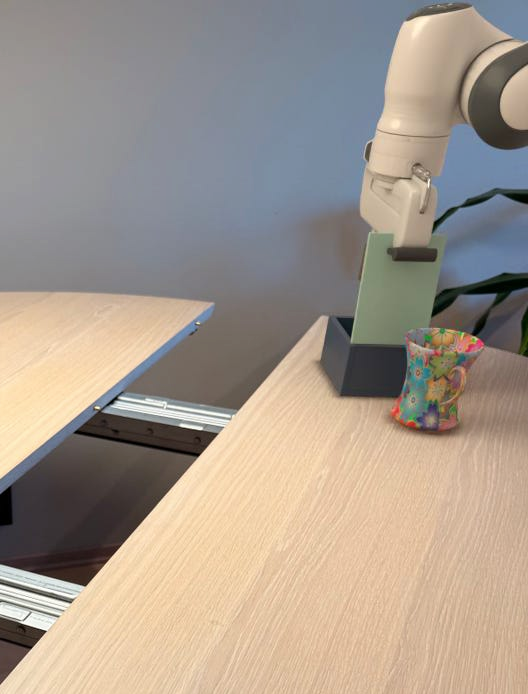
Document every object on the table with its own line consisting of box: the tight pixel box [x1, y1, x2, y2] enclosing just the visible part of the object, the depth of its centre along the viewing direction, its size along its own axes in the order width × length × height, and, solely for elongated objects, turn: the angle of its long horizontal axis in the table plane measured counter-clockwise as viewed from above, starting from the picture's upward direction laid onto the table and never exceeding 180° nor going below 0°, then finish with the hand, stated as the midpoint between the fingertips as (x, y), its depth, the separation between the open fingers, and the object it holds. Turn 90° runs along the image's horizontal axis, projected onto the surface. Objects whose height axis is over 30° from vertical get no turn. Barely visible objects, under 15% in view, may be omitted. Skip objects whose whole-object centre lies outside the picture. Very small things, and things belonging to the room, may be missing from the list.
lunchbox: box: [319, 314, 407, 398], centre depth 135 cm, size 13×10×7 cm
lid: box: [351, 231, 448, 345], centre depth 123 cm, size 13×10×5 cm
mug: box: [389, 327, 485, 432], centre depth 121 cm, size 12×9×11 cm
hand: (382, 271), depth 131 cm, fingers closed on block, 4 cm apart
